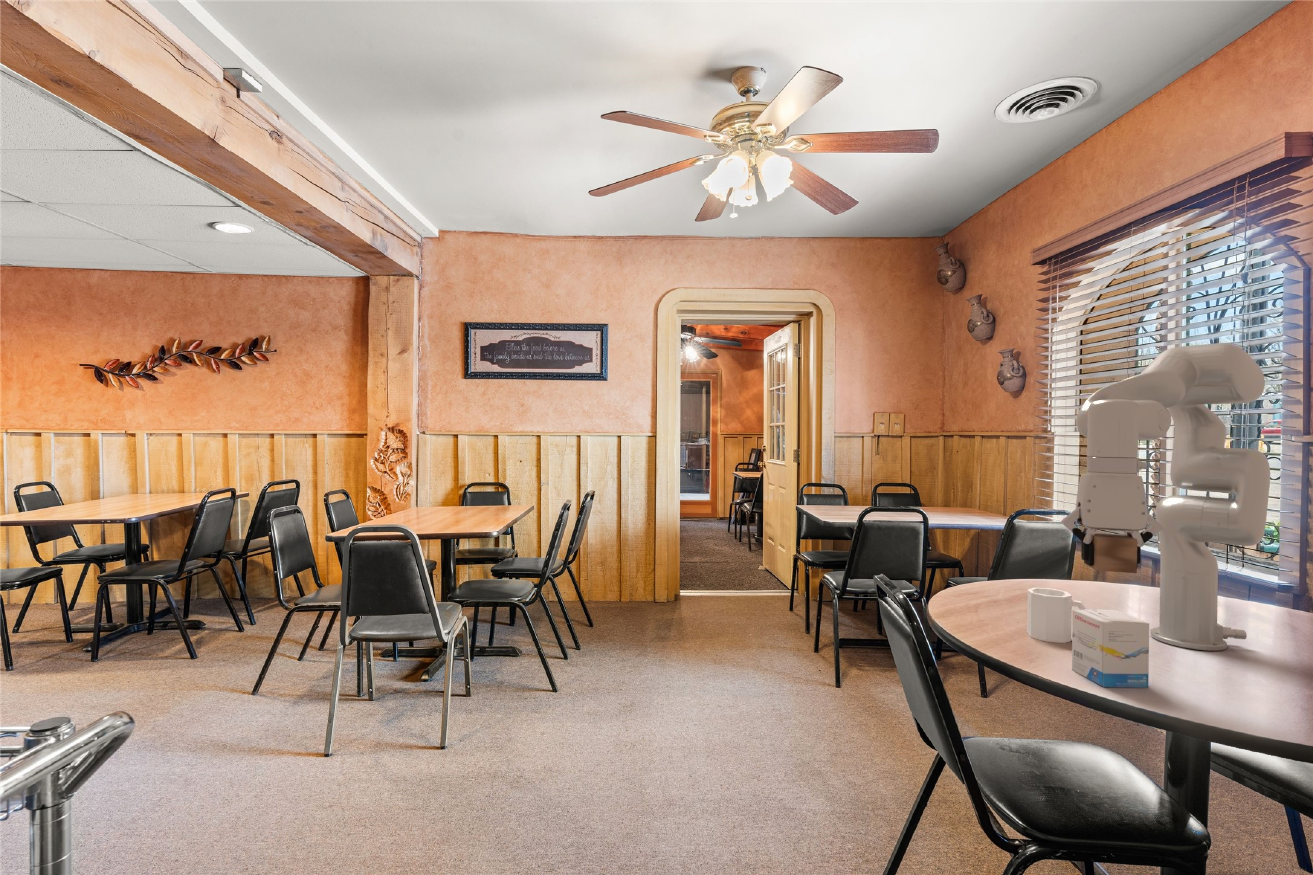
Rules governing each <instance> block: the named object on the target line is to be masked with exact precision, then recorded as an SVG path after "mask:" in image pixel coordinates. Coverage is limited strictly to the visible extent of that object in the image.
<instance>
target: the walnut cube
mask: <svg viewBox="0 0 1313 875" xmlns="http://www.w3.org/2000/svg"><path fill="white" fill-rule="evenodd" d="M1092 544H1094V565H1093V566H1089V565H1087V564H1085V565H1086V566H1088V567H1090V568H1092V569H1093V570H1095V571H1096V572H1097V571H1098V572H1099V571H1100V572H1109V573H1110V572H1113V573H1123V574H1124V573H1128V574H1137V573H1138V568H1137V539H1135V538H1132V537H1129V536H1127V534H1125V533H1124V534H1122V533H1121V534H1120V533H1107V532H1106V533H1103V532H1096V533H1095V535H1094V537H1093V539H1092Z"/></svg>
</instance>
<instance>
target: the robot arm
mask: <svg viewBox="0 0 1313 875" xmlns="http://www.w3.org/2000/svg"><path fill="white" fill-rule="evenodd" d="M1265 387H1266V378H1265V375H1264V373H1263V370H1262V369H1261V367H1260V366H1259V364H1258V363H1257V362H1256V361H1255V360H1254V359H1253V358H1252V357H1251V356H1250V355H1249V353H1248V352H1247V351H1245V350H1244V349H1243V348H1242V347H1240V346H1238V345H1236V344H1233V343H1229V342H1217V343H1207V344H1196V345H1192V344H1191V345H1184V346H1183V345H1182V346H1175V347H1171V348H1167V349H1165V350H1163V351H1161V353H1159V354H1158V355H1157V356H1156V357H1154V359H1153V360H1152V361H1151V362H1150V363H1149V364H1148V366H1147V367H1145V369H1144V370H1142V371H1141V373H1140V374H1136V375H1133V376H1130V377H1128V378H1125V379H1123V380H1120V381H1117V382H1115V383H1111V384H1109V385H1106V386H1104V387H1102V388H1100V389H1098V390H1096V391H1095V392H1093V393H1092V394H1091V395H1090V396H1089V397H1087V399H1086V400H1085V401H1084V402H1083V404H1081V407H1080V408H1079V410H1078V412H1077V416H1076V427H1077V429H1078V431H1079V433H1080V434H1081V435H1082V436H1083V437H1084V438H1087V440H1086V441H1087V442H1086V443H1087V444H1086V446H1087V447H1086V473H1081V474H1080V478H1079V482H1078V487H1077V491H1076V492H1077V494H1076V501H1075V502H1076V503H1075V508H1074V510H1072V511H1071V512H1070V513H1069V514H1068V515H1067V516H1065V517H1064V518H1063V519H1062V520H1061V521H1060V522H1061V524H1062V525H1063V526H1064V527H1065V528H1066V529H1067V530H1068V531H1070V532H1071V533H1072V534H1073V536H1075V538H1077V539H1078V540H1079V541H1080V542H1081V543H1080V544H1081V545H1080V546H1081V548H1080V549H1081V550H1080V551H1081V552H1080V553H1081V554H1080V556H1081V560H1082V561H1083V563H1084V564H1085V565H1086V564H1087V565H1086V566H1088V565H1089V566H1088V567H1090V566H1093V565H1094V544H1092V539H1093V537H1094V535H1095V533H1097V532H1098V530H1107V531H1124V532H1125V533H1126V534H1125V535H1127V536H1129V537H1132V538H1135V539H1137V569H1138V568H1139V566H1138V565H1140V564H1141V556H1142V555H1141V552H1142V547H1144V545H1145V543H1147V542H1149V540H1151V539H1152V538H1153V537H1154V536H1155V535H1156V534H1158V538H1159V551H1160V552H1159V553H1160V557H1159V558H1160V560H1159V561H1160V562H1159V563H1160V564H1159V567H1160V568H1159V570H1160V571H1159V572H1160V573H1159V577H1160V578H1159V626H1158V627H1157V626H1156V627H1153V628H1151V629H1149V636H1150V637H1152V638H1153V639H1154V640H1157V641H1160V642H1162V643H1164V644H1168V645H1172V646H1176V647H1180V648H1185V649H1191V650H1200V651H1211V652H1212V651H1216V652H1217V651H1224V650H1225V649H1227V648H1228V645H1227V642H1226V640H1227V639H1228V638H1230V639H1231V638H1233V639H1236V640H1237V639H1238V640H1246V639H1247V636H1248V635H1247V632H1246V630H1245V629H1237V628H1232V627H1229V626H1223V625H1222V624H1219V623H1218V602H1219V601H1218V599H1219V598H1218V595H1219V593H1218V592H1219V591H1218V589H1219V588H1218V587H1219V585H1218V584H1219V564H1218V561H1217V559H1216V557H1215V556H1214V554H1213V552H1212V551H1211V550H1210V549H1209V548H1208V547H1207V545H1206V544H1205V543H1215V544H1225V545H1233V546H1241V547H1250V546H1251V547H1252V546H1256V545H1258V544H1259V543H1260V542H1261V541H1262V539H1263V537H1264V535H1265V533H1266V525H1267V518H1268V517H1267V516H1268V505H1269V504H1268V503H1269V495H1270V486H1271V485H1270V484H1271V468H1270V462H1269V459H1268V458H1267V457H1266V455H1265V454H1264V453H1262V452H1261V451H1259V450H1256V449H1253V448H1252V449H1251V448H1244V447H1243V448H1239V447H1234V448H1233V447H1225V444H1226V434H1227V427H1226V424H1225V423H1224V421H1222V420H1221V418H1220V417H1219V416H1218V415H1217V414H1216V413H1215V412H1214V411H1212V410H1211V409H1210V408H1209V407H1207V406H1206V405H1228V404H1230V405H1231V404H1233V405H1234V404H1237V405H1238V404H1249V403H1252V402H1255V401H1258V399H1259V398H1261V396H1262V395H1263V393H1264V390H1265ZM1172 421H1173V425H1174V437H1173V438H1174V439H1173V444H1172V445H1173V446H1172V452H1171V453H1172V454H1171V462H1170V470H1169V471H1170V475H1169V476H1170V481H1171V482H1172V484H1173V485H1174V486H1175V487H1177V488H1179V489H1183V490H1186V491H1187V490H1188V491H1195V492H1205V493H1206V492H1209V493H1210V492H1211V493H1221V494H1222V493H1224V494H1225V493H1226V494H1233V495H1235V498H1231V497H1230V498H1229V497H1228V498H1227V497H1214V496H1212V497H1211V496H1206V495H1205V496H1204V495H1189V494H1175V495H1169V496H1165V497H1164V498H1162V499H1160V500H1159V501H1158V503H1157V504H1156V507H1155V512H1154V513H1155V514H1154V515H1155V518H1154V516H1152V515H1151V514H1150V513H1149V512H1148V503H1147V494H1146V489H1145V484H1144V480H1143V476H1142V475H1138V474H1139V473H1140V471H1141V470H1147V468H1148V463H1147V462H1146V461H1141V460H1140V458H1139V441H1152V440H1157V439H1159V438H1162V437H1163V436H1164V435H1166V434H1167V433H1168V431H1169V429H1170V427H1171V424H1172ZM1075 522H1076V524H1078V525H1080V526H1083V528H1082V530H1081V529H1080V528H1078V526H1076V524H1075ZM1147 526H1148V527H1147Z"/></svg>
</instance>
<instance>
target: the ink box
mask: <svg viewBox="0 0 1313 875" xmlns="http://www.w3.org/2000/svg"><path fill="white" fill-rule="evenodd" d="M1071 641H1072V642H1071V649H1072V650H1071V653H1072V654H1071V670H1072V671H1073V672H1075V673H1077V674H1079V675H1081V676H1083V677H1085V678H1086V679H1088V680H1090V681H1092V682H1093V683H1095V684H1097V685H1099V686H1101V687H1103V688H1133V689H1135V688H1136V689H1137V688H1138V689H1139V688H1142V689H1144V688H1148V689H1149V676H1150V675H1149V673H1150V672H1149V668H1150V666H1149V665H1150V664H1149V661H1150V622H1147V621H1144V620H1143V619H1142V620H1141V619H1139V618H1137V617H1134V616H1132V615H1129V614H1127V613H1125V612H1123V611H1120V610H1118V609H1098V608H1095V609H1094V608H1087V609H1084V610H1080V609H1072V626H1071Z"/></svg>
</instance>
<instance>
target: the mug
mask: <svg viewBox="0 0 1313 875" xmlns="http://www.w3.org/2000/svg"><path fill="white" fill-rule="evenodd" d="M1026 598H1027V599H1026V600H1027V603H1026V604H1027V606H1026V607H1027V608H1026V609H1027V612H1026V615H1027V616H1026V622H1027V623H1026V634H1027V635H1028V636H1029V637H1030V638H1032V639H1036V640H1039V641H1043V642H1047V643H1048V642H1049V643H1059V644H1060V643H1061V644H1065V643H1068V642H1071V641H1072V621H1073V620H1072V611H1073V607H1077V608H1078V610H1084V609H1088V607H1087V606H1086V605H1085V604H1084V603H1083V602H1082V601H1080V600H1073V595H1072V594H1070V593H1069V592H1068V591H1066V590H1065V591H1064V590H1060V589H1055V588H1052V587H1051V588H1049V587H1032V588H1028V589H1027V597H1026Z"/></svg>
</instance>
